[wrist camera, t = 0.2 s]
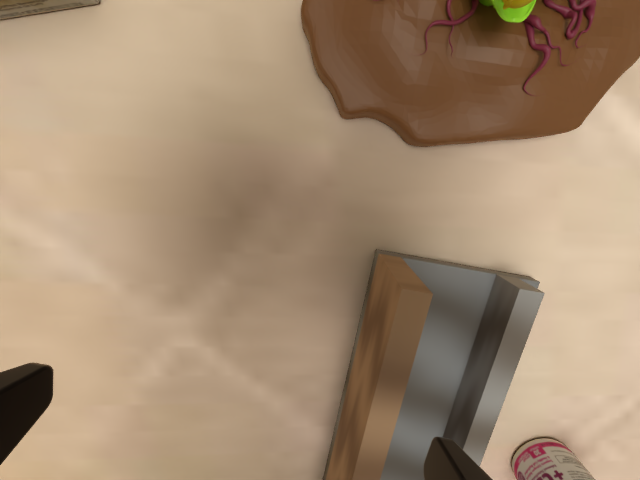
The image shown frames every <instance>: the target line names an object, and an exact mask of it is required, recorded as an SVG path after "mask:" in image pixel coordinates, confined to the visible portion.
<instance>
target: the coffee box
mask: <svg viewBox="0 0 640 480" xmlns="http://www.w3.org/2000/svg"><path fill="white" fill-rule="evenodd" d="M98 3H99V0H0V19H6V18H13V17H19V16H25V15H32V14H38V13H44V12H50V11H56V10H63V9H69V8H75V7H81V6H87V5H94V4H98Z"/></svg>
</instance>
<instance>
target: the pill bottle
mask: <svg viewBox="0 0 640 480" xmlns="http://www.w3.org/2000/svg"><path fill="white" fill-rule="evenodd" d="M512 469H513V472H514V475H515V477H516V478H517V480H595V479H594V478H593V476H592V475H591V474H590V473H589V472H588V471H587V469H586V468H585V467H584V466H583V465H582V464H581V462H580V461H579V460H578V459H577V458H576V456H575V455H574V454H573V453H572V452H571V451H570V450H569V449H568V448H567V447H566V446H565V445H564V444H562V443H560V442H558V441H556V440H553V439H548V438H541V439H535V440H532V441H530V442H527V443H526V444H524V445H523V446H522V447H520V448H519V450H518V451H517V452H516V453H515V455H514V457H513V460H512Z"/></svg>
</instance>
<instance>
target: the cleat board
mask: <svg viewBox="0 0 640 480" xmlns="http://www.w3.org/2000/svg"><path fill="white" fill-rule="evenodd" d="M539 283H540V282H539V281H537V280H535V279H533V278H531V277H528V276H522V275H517V274H511V273H505V272H500V271H494V270H489V269H483V268H477V267H472V266H466V265H461V264H455V263H449V262H444V261H438V260H433V259H427V258H421V257H416V256H410V255H404V254H399V253H393V252H388V251H382V250H376V252H375V257H374V261H373V265H372V270H371V274H370V278H369V283H368V287H367V291H366V296H365V300H364V304H363V308H362V313H361V317H360V321H359V326H358V330H357V334H356V339H355V343H354V347H353V352H352V356H351V360H350V365H349V369H348V373H347V378H346V382H345V386H344V391H343V395H342V399H341V403H340V408H339V412H338V416H337V421H336V425H335V429H334V434H333V438H332V442H331V447H330V451H329V455H328V460H327V464H326V468H325V473H324V477H323V480H425V479H424V471H423V469H424V462H425V459H426V456H427V453H428V450H429V447H430V445H431V442H432V440H433V438H434V437H437V436H438V437H444V438H449V439H452V440H453V441H454V442H456V443H457V445H458V446H459V447H460V448H461V449H462V450H463V451H464V452H465V453H466V454H467V455H468V456H469V457H470V458H471V459H472V460H473V461H474V462H475V463H476V464H477V465H478V466H480V464H481V461H482V458H483V456H484V453H485V450H486V448H487V445H488V442H489V440H490V437H491V434H492V432H493V429H494V426H495V424H496V421H497V418H498V416H499V413H500V410H501V408H502V405H503V402H504V400H505V397H506V394H507V392H508V389H509V386H510V384H511V381H512V379H513V376H514V373H515V371H516V368H517V365H518V363H519V360H520V357H521V355H522V352H523V349H524V347H525V344H526V341H527V339H528V336H529V333H530V331H531V328H532V325H533V323H534V320H535V317H536V315H537V312H538V309H539V307H540V304H541V301H542V299H543V296H544V293H543V292H542V291H540V290H538V289H537V288H538V286H539Z"/></svg>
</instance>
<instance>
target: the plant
mask: <svg viewBox="0 0 640 480" xmlns="http://www.w3.org/2000/svg"><path fill="white" fill-rule="evenodd" d="M301 19H302V25H303V30H304V32H305V34H306V36H307V38H308V41H309V44H310V49H311V54H312V58H313V62H314V65H315V68H316V71H317V74H318V76H319V77H320V79H321V80H322V82H323V83H324V84H325V86H326V87H327V88H328V89H329V91H330V92H331V94H332V96H333V98H334V100H335V103H336V105H337V107H338V110H339V113H340V116H341V117H342V118H344V119H355V118H361V117H367V118H373V119H377V120H379V121H381V122H383V123H385V124H387V125H388V126H390V127H391V128H392V129H394V130H395V131H396V132H397V133H398V134H399V136H400V137H401V138H402V139H403V140H404V141H405V142H406V143H408V144H409V145H413V146H421V147H427V146H436V145H447V144H465V143H476V142H486V141H495V140H514V139H527V138H535V137H542V136H549V135H555V134H561V133H565V132H569V131H571V130H574V129H576V128H578V127H579V126H580V125H581V124H582V123H583V121H584V120H585V118H586V117H587V116H588V115H589V113H590V112H591V111H592V110H593V108H594V107H595V106H596V104H597V103H598V102H599V101H600V99H601V98H602V97H603V96H604V94H605V93H606V92H607V91H608V89H609V88H610V87H611V86H612V85H613V84H614V83H615V82H616V80H617V79H618V78H619V77H620V76H621V75H622V74H623V73H624V72H625V71H626V70H627V69H628V68H630V67H631V66H632V65H633V64H634V63H635V62H636V61H637V59H638V58H639V57H640V0H303V2H302V6H301Z"/></svg>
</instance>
